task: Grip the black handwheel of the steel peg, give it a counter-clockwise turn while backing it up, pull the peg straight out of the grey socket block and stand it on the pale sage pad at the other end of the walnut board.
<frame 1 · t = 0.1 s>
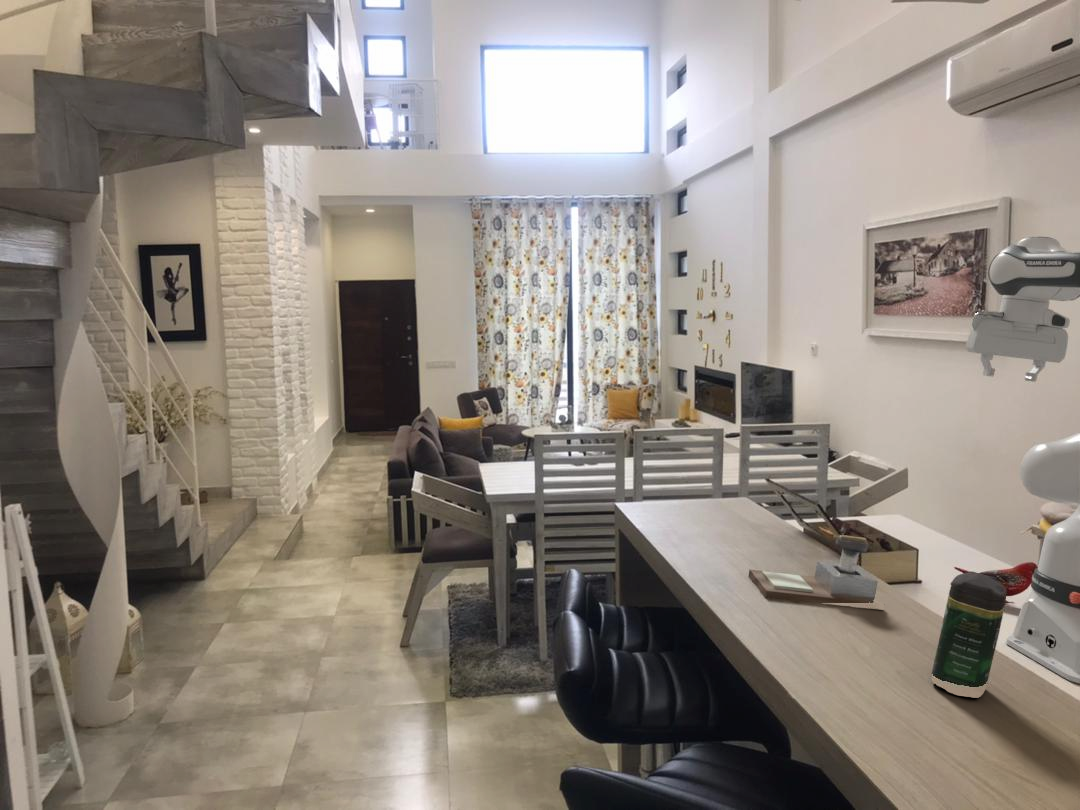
hand: (1009, 378, 174), 48 cm above the table, tool pointing down, fingers open, 8 cm apart
decorative bird figurine: (990, 602, 174), on the table
walnut board: (813, 592, 166), on the table
coffee jar: (957, 688, 130), on the table
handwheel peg: (843, 589, 166), point 1 cm above the table, touching walnut board
grey socket block: (842, 596, 166), resting on walnut board
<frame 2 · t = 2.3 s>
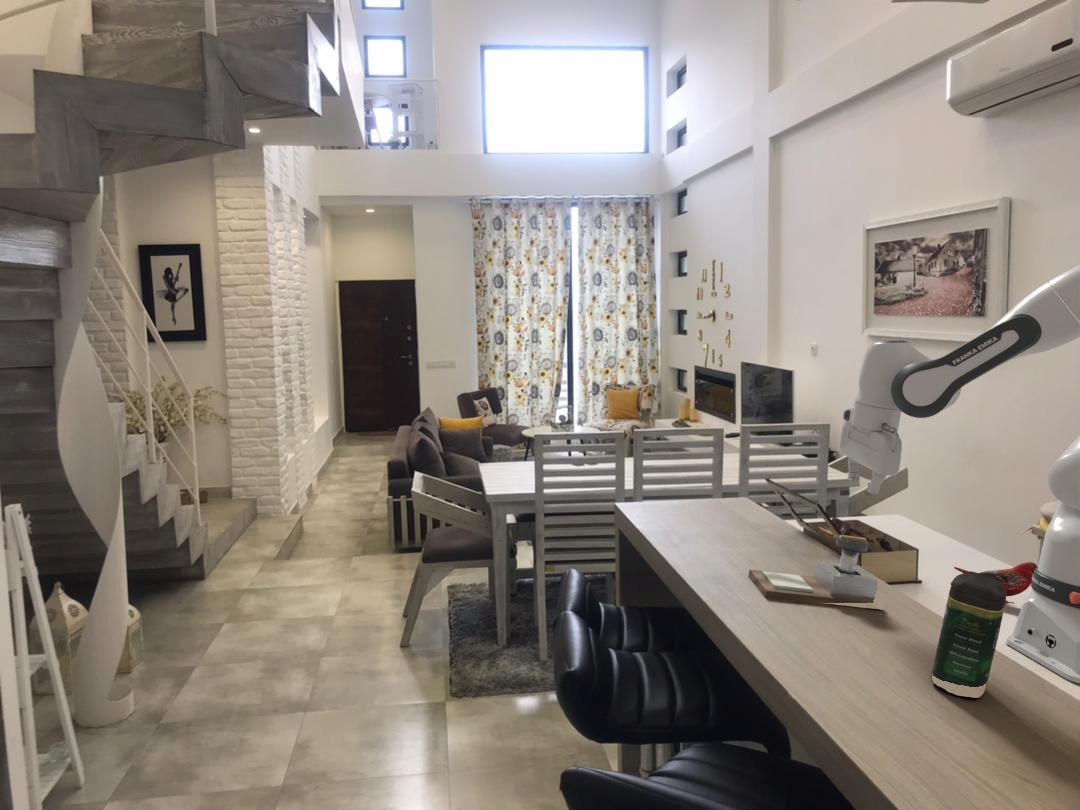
hand: (862, 486, 163), 23 cm above the table, tool pointing down, fingers open, 8 cm apart
nothing on the table moved.
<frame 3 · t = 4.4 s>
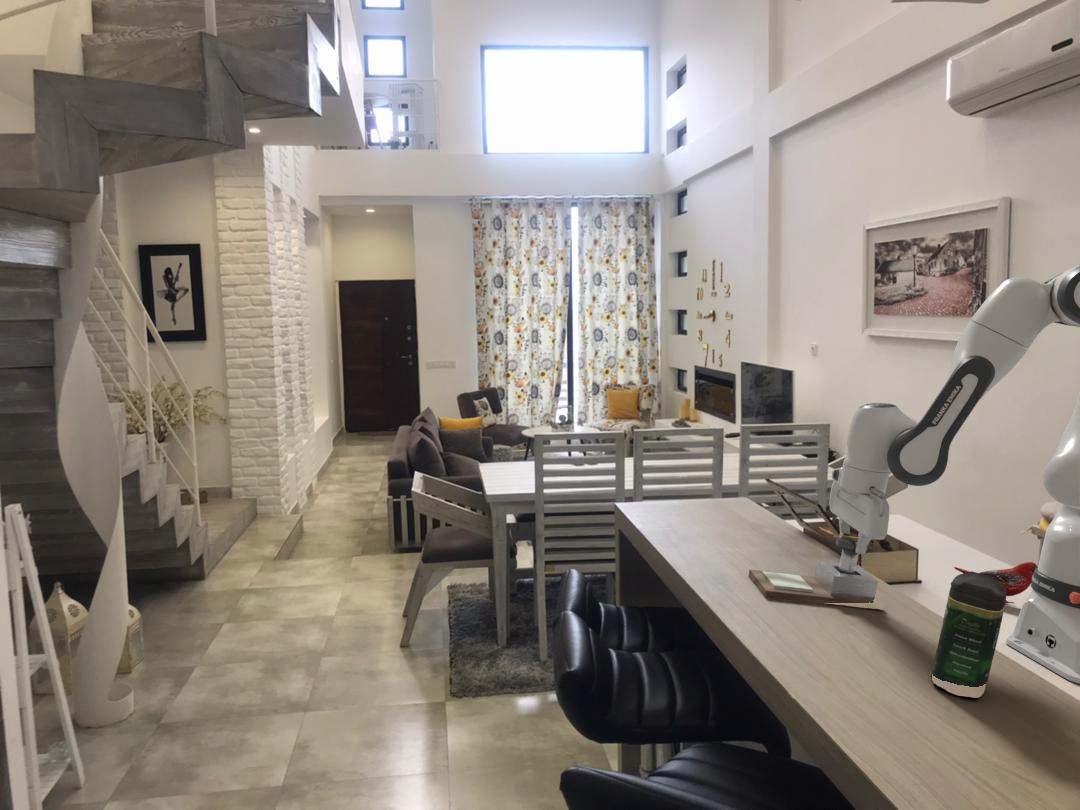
hand: (851, 546, 164), 11 cm above the table, tool pointing down, fingers closed on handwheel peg, 6 cm apart
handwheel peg: (843, 589, 166), point 2 cm above the table, touching gripper, walnut board
everything else where it was.
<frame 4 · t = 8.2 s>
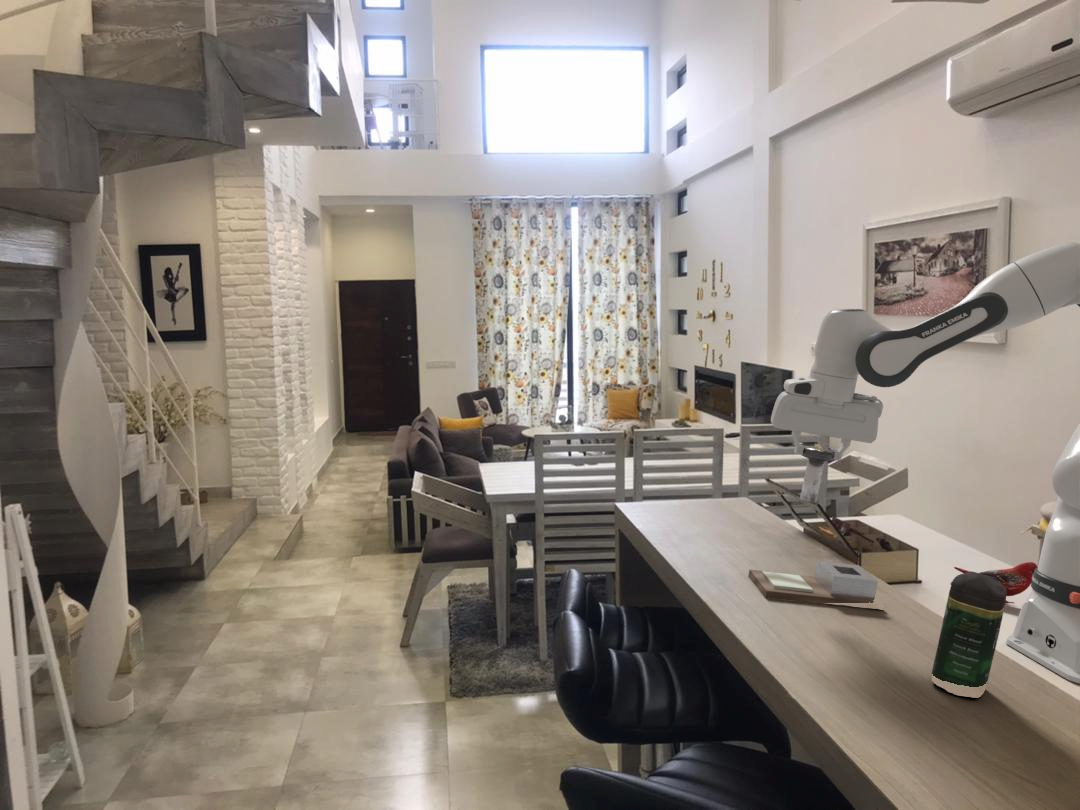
hand: (816, 456, 161), 28 cm above the table, tool pointing down, fingers closed on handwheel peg, 6 cm apart
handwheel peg: (808, 500, 163), point 19 cm above the table, touching gripper
everything else where it was.
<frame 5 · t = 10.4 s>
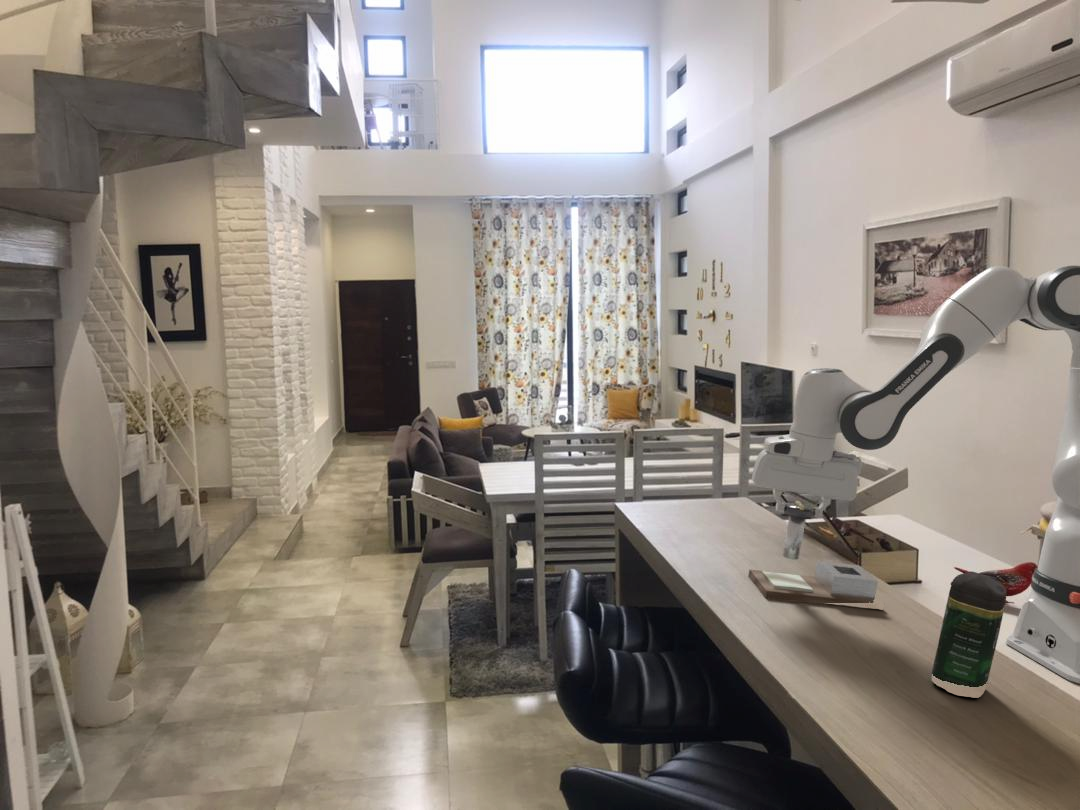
hand: (798, 514, 163), 16 cm above the table, tool pointing down, fingers closed on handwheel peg, 6 cm apart
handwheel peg: (790, 556, 164), point 7 cm above the table, touching gripper
everything else where it was.
when the fingers open (13 cm above the table, at t = 12.1 s): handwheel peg drops 1 cm, resting on walnut board.
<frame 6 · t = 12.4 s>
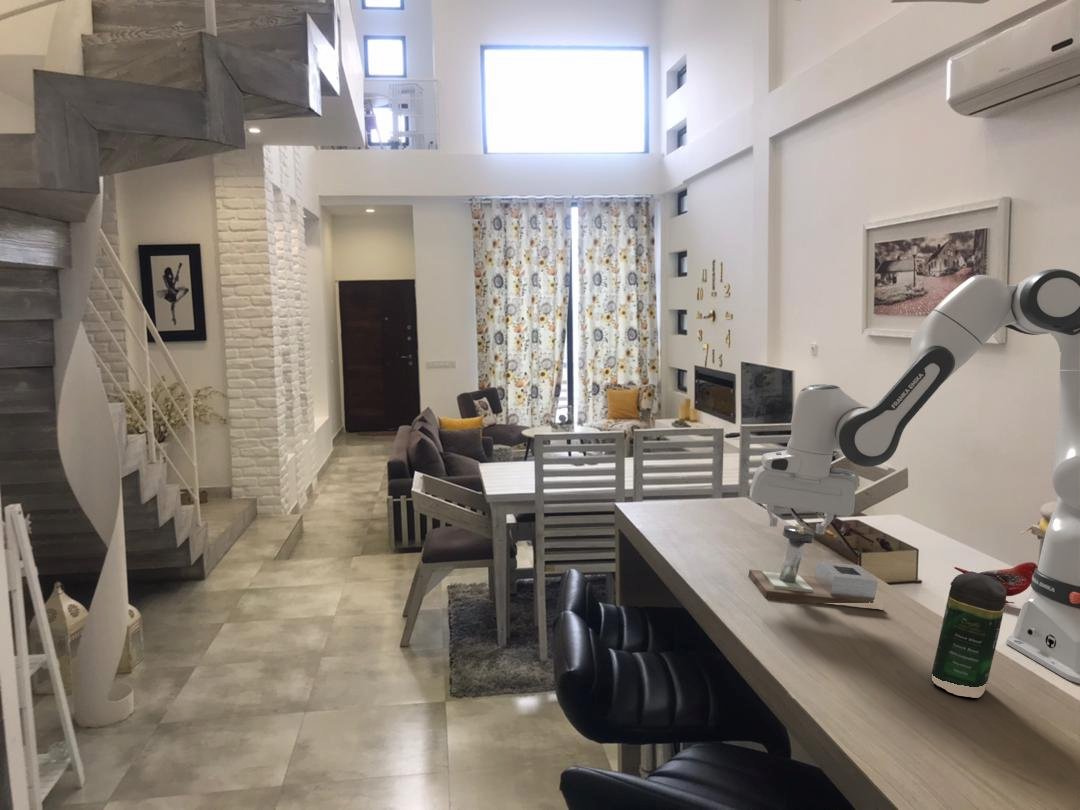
hand: (795, 529, 163), 13 cm above the table, tool pointing down, fingers open, 8 cm apart
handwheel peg: (787, 579, 165), point 2 cm above the table, touching walnut board
everything else where it was.
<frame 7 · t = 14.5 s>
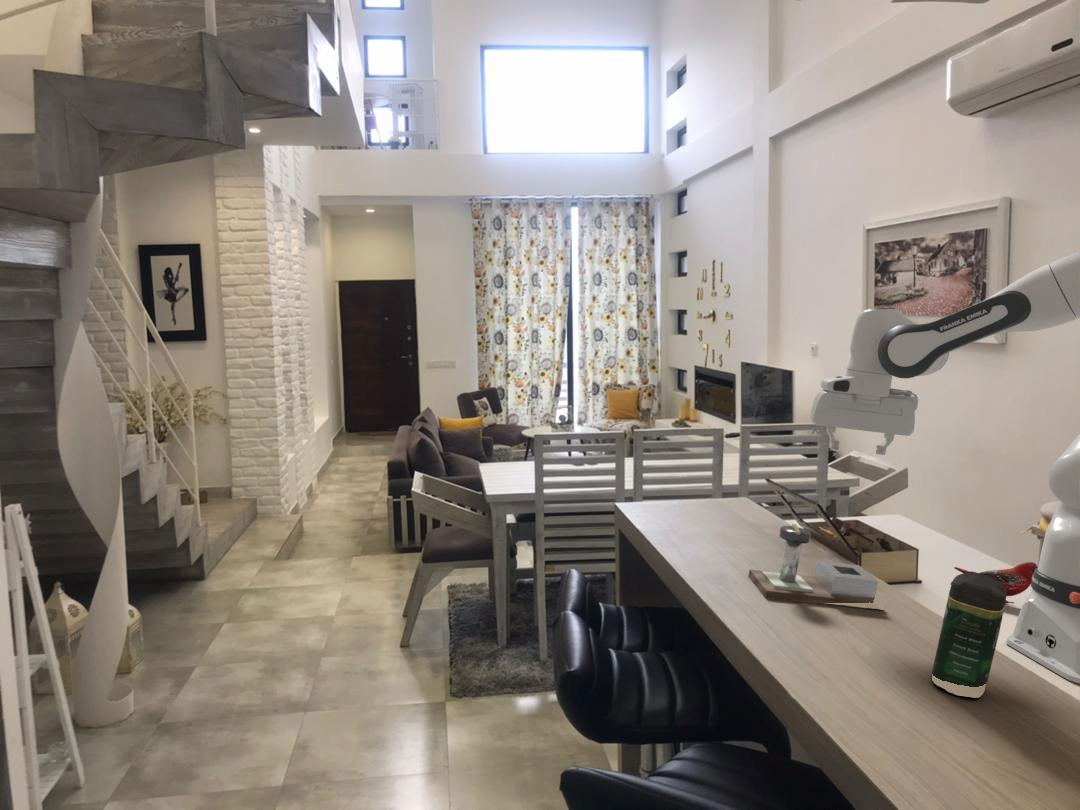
hand: (856, 451, 167), 29 cm above the table, tool pointing down, fingers open, 8 cm apart
nothing on the table moved.
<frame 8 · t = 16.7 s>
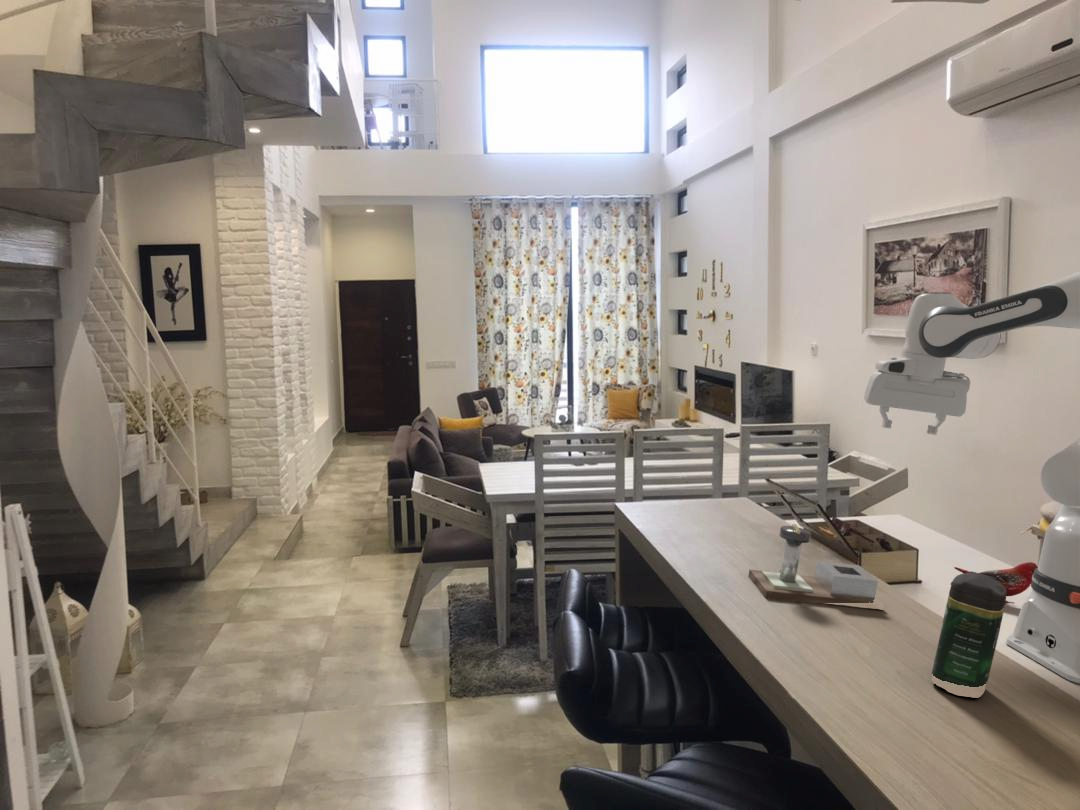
hand: (908, 430, 174), 34 cm above the table, tool pointing down, fingers open, 8 cm apart
nothing on the table moved.
at the end: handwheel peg inside the target area (0.0 cm from its centre), point 2.1 cm above the table; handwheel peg tilted 0°; the gripper is holding nothing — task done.
